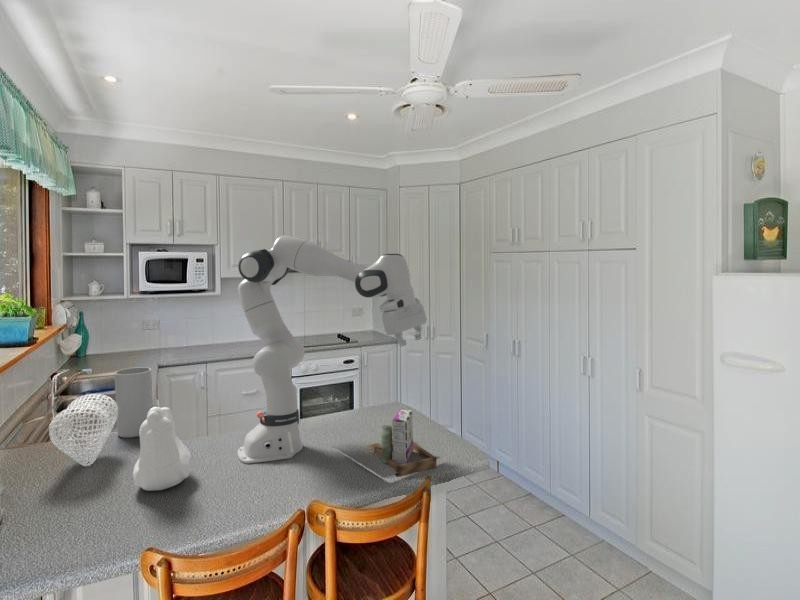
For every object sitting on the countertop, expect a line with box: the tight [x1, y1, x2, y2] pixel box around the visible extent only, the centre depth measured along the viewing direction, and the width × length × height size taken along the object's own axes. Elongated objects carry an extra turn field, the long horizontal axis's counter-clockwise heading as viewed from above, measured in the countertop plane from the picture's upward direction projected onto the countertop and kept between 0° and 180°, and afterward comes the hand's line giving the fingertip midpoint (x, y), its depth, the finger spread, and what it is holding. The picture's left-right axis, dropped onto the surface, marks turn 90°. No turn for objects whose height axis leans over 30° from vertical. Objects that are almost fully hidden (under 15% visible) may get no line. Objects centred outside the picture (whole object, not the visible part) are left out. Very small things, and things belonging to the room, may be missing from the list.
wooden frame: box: [373, 424, 438, 477], centre depth 153 cm, size 16×17×13 cm
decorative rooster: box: [132, 406, 192, 491], centre depth 141 cm, size 25×16×25 cm, turn 5°
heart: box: [48, 393, 118, 467], centre depth 151 cm, size 28×16×22 cm, turn 20°
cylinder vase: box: [113, 366, 154, 439], centre depth 181 cm, size 12×12×25 cm
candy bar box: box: [392, 408, 414, 465], centre depth 153 cm, size 11×5×16 cm, turn 168°
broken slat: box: [364, 442, 381, 451], centre depth 165 cm, size 15×4×2 cm, turn 118°
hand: (411, 342), depth 149 cm, fingers open, 8 cm apart
